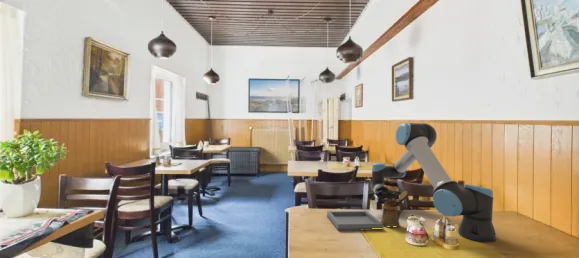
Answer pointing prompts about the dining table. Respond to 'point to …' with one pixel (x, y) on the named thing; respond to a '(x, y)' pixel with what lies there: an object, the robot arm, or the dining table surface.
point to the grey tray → (353, 220)
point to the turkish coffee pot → (393, 211)
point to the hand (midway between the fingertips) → (390, 200)
